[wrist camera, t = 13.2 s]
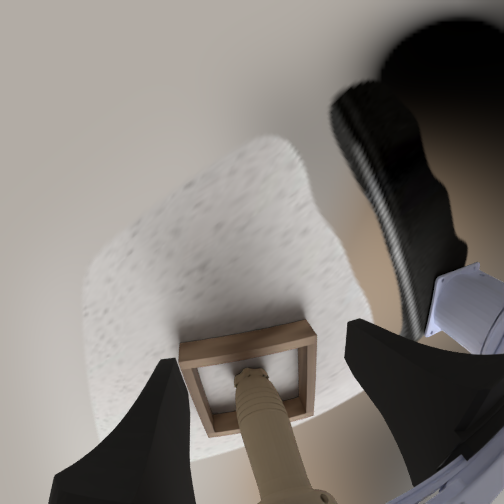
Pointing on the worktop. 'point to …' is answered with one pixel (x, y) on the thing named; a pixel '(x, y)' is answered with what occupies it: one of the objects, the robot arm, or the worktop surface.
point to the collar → (247, 348)
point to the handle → (272, 443)
